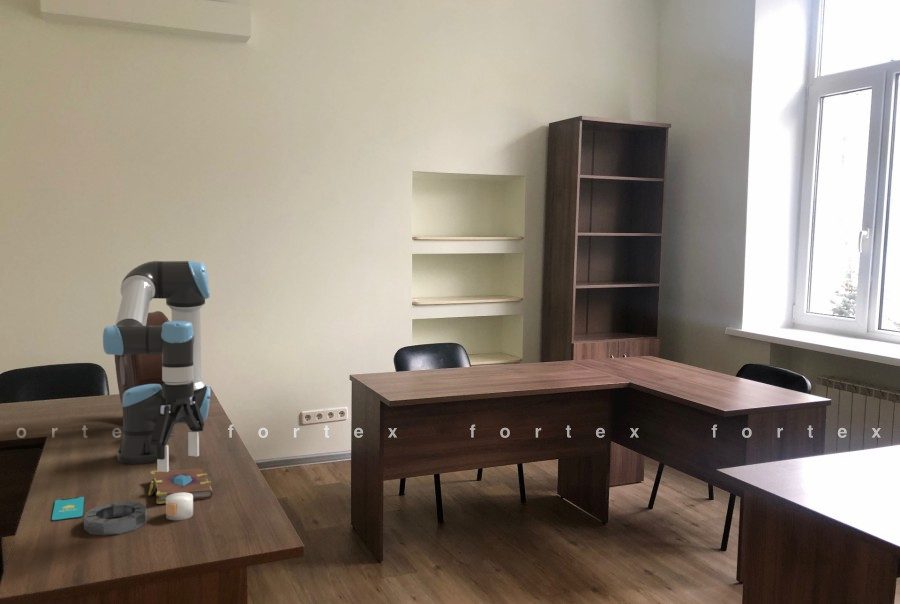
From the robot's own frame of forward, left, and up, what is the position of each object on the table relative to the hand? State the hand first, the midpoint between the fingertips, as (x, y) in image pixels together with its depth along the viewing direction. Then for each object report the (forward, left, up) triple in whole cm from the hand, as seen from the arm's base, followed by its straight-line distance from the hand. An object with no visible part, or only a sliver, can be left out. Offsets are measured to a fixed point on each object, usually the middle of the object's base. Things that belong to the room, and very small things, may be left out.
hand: (179, 463), depth 186 cm
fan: (-72, -60, -14) cm, 95 cm away
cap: (0, 0, -14) cm, 14 cm away
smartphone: (+4, -30, -15) cm, 34 cm away
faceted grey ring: (+9, -12, -14) cm, 20 cm away
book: (-18, -12, -15) cm, 26 cm away
